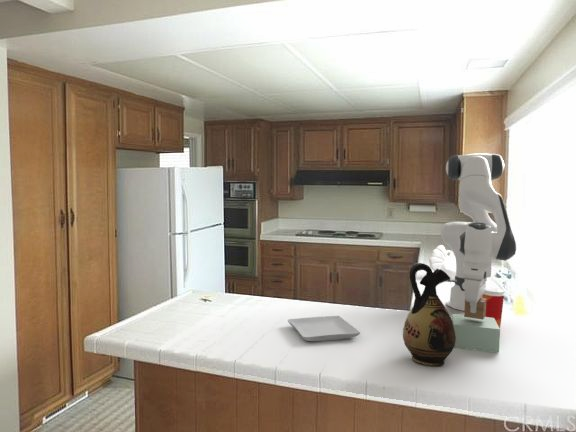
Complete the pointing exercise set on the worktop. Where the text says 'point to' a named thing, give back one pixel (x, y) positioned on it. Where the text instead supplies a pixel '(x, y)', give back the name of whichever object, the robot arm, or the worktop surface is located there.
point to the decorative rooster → (443, 261)
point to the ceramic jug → (428, 320)
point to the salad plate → (323, 328)
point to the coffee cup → (494, 303)
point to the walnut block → (480, 309)
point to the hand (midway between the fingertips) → (475, 310)
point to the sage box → (476, 333)
